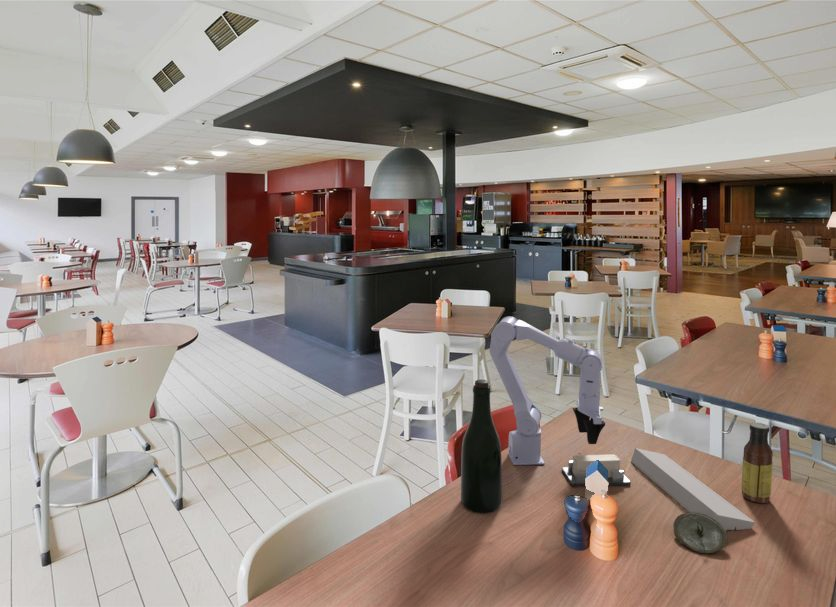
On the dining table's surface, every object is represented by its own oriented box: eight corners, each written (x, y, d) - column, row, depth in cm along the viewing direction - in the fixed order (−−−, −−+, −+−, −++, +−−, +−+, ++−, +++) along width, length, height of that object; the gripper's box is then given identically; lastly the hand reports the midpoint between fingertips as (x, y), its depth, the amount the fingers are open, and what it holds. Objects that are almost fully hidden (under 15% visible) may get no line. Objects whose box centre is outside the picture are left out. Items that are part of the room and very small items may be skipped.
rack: (572, 487, 132) (572, 475, 131) (561, 470, 141) (562, 459, 140) (630, 485, 132) (631, 473, 132) (616, 468, 141) (617, 457, 140)
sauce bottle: (768, 495, 126) (776, 423, 123) (771, 507, 121) (779, 432, 118) (738, 488, 130) (745, 418, 126) (739, 500, 124) (747, 427, 121)
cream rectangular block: (576, 478, 134) (577, 461, 134) (572, 471, 138) (573, 455, 137) (619, 477, 135) (620, 460, 134) (614, 470, 138) (614, 454, 137)
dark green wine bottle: (508, 500, 126) (510, 378, 121) (490, 520, 118) (491, 390, 112) (472, 488, 132) (472, 372, 127) (453, 507, 123) (452, 383, 118)
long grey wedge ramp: (659, 468, 147) (630, 462, 145) (664, 454, 146) (635, 448, 145) (748, 540, 113) (711, 533, 112) (755, 522, 113) (718, 515, 111)
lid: (728, 537, 110) (729, 517, 109) (724, 562, 102) (726, 541, 101) (676, 521, 116) (677, 502, 115) (668, 543, 108) (670, 523, 107)
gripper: (613, 402, 131) (611, 448, 133) (594, 384, 145) (591, 427, 148) (587, 402, 131) (585, 449, 133) (570, 384, 145) (568, 427, 148)
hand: (587, 437), depth 141 cm, fingers open, 7 cm apart
